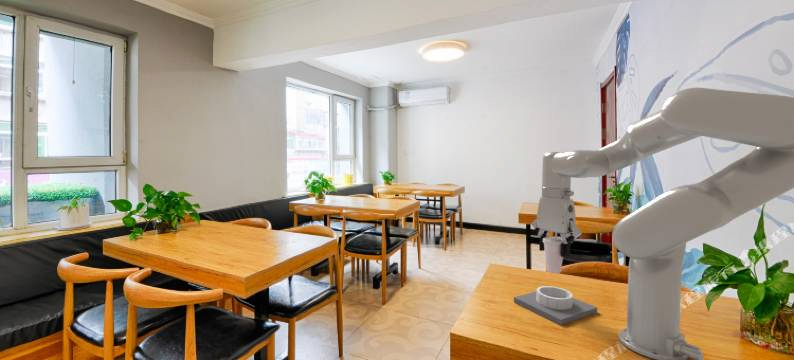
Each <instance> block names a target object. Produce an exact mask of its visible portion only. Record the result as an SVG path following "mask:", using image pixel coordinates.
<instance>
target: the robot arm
mask: <svg viewBox="0 0 794 360" xmlns="http://www.w3.org/2000/svg"><path fill="white" fill-rule="evenodd" d="M699 137H706V138H712V139H717V140H721V141H727V142H733V143H738V144H743V145H747V146H753V147H755V148H754V149H753V150H752V151H750V152H749V153H748V154H746V155H745V156H744V157H741V158H739V159H738V160H735V161H734V162H732V163H730V164H728V165H727V166H726V167H724V168H723V169H721V170H719V171H718V172H716V173H714V174H713V175H710V176H709V177H707V178H705V179H703V180H701V181H700V182H697V183H692V184H685V185H679V186H676V187H674V188H671V189H669V190H667V191H665V192H663V193H662V194H661V193H660V195H658V196H657V197H655V198H654V199H652V200H650V201H649V202H647V203H645V204H643V205H642V206H641V207H638V208H637V209H636V210H634V211H633V212H631V213H629V214H627V215H626V216H624V217H623V218H622V219H620V220H619V221H618V222H617V223H615V226H614V227H613V230H612V241H613V242H612V243H613V244H614V247H615V248H616V250H618V251H619V252H620V253H622V255H624V256H626V257H628V258H629V262H628V277H627V305H626V306H627V308H626V310H627V311H626V328H622V329H621V330H619V332H618V340H619V341H620V343H621V344H622V345H624V346H625V347H627V348H628V349H629V350H631V351H632V352H636V353H638V354H639V355H641V356H644V357H647V358H650V359H653V360H688V358H690V359H692V360H704V357H705V356H704V352H702V348H701V347H699V346H696V345H694V344H692V343H691V344H690V343H688V341H686V334H684V333H682V332H680V327H681V325H680V324H681V304H682V303H681V302H682V301H681V299H682V298H681V297H682V285H683V284H682V282H683V280H682V279H683V266H684V260H685V253H686V248H687V243H688V242H691V241H692V240H694V239H697V238H699V237H701V236H703V235H705V234H707V233H709V232H712V231H714V230H717V229H720V228H722V227H724V226H726V225H727V224H729V223H730V222H732V221H733V220H736V219H737V218H739V217H740V216H742V215H744V214H746V213H748V212H749V213H750V211H752V210H754V209H757V208H759V207H762V206H763V205H765V204H767V203H768V202H770V201H772V200H774V199H776V198H778V197H779V196H781V195H784V194H785V193H788V192H789V191H791V190H793V189H794V97H793V96H787V95H780V94H778V95H777V94H769V93H760V92H759V93H758V92H756V93H755V92H746V91H735V90H725V89H716V88H715V89H714V88H709V87H708V88H707V87H689V88H686V89H682V90H679V91H677V92H676V93H673V94H672V95H671V96H669V97H668V99H667V100H665V102H664V103H663V105H662V108H661V110H658V111H656V112H654V113H652V114H650V115H648V116H645V117H643V118H641V119H640V120H637V121H635V122H633V123H631V124H630V125H628V126H627V128H626V131H625V134H624V135H623V136H622V137H620V138H619V139H617V140H616V141H614V142H612V143H609V144H608V145H605V146H603V147H601V148H599V149H596V150H589V149H587V150H583V149H581V150H580V149H579V150H571V151H570V150H569V151H548V152H544V154H543V156H542V173H541V176H542V177H541V178H542V179H541V180H542V181H541V187H542V188H541V197H540V198H539V201H538V204H537V205H538V207H537V211H536V212H537V214H536V218H535V219H534V220H533V221H532V222H531V226H532V227H533V229H534V231H535V232H536V234H537V238H539V242H538V243H539V244H538V245H539V249H538V251H541V252H543V251H544V252H545V249H544V242H543V238H545V237H548V236H547V235H548V234H549V232H551V233H554V234H555V233H557V234H559V235H560V238H562V241H563V243H561V257H563V258H566V257H570V255H571V245H572V243H573V242H574V241H575V240H577V238H579V236H581V235H582V234H583V232H582V231H581V230H580V228H579V227H578V226H577V222H576V221H577V220H576V207H575V203H574V199H572V198H571V196H572V197H573V196H574V195H575V192H574V190H573V191H572V189H571V182H572V178H575V179H585V178H598V177H602V176H606V175H609V174H611V173H614V172H617V171H620V170H622V169H624V168H627V167H629V166H632V165H634V164H636V163H638V162H640V161H643V160H645V159H646V158H648V157H650V156H653V155H655V154H657V153H660V152H662V151H665V150H668V149H671V148H673V147H675V146H678V145H681V144H683V143H686V142H689V141H692V140H694V139H697V138H699ZM571 233H572V234H571Z"/></svg>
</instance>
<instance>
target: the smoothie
mask: <svg viewBox="0 0 794 360" xmlns="http://www.w3.org/2000/svg"><path fill="white" fill-rule="evenodd" d="M543 242H544V249H545V250H544V256H545V266H546V272H548V273H551V274H560V273H561V271H562V265H563V259H564V257H561V243H563V241H562V238H561V237H558V233H555V232H554V236H546V237H545V238H543Z"/></svg>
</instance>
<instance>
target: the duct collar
mask: <svg viewBox="0 0 794 360" xmlns="http://www.w3.org/2000/svg"><path fill="white" fill-rule="evenodd" d="M513 303H515V304H518V305H519V306H521V307H523V308H526V309H527V310H529V311H531V312H533V313H535V314H537V315H539V316H541V317H543V318H545V319H547V320H550V321H551V322H554V323H555V324H557V325H560V326H563V325H566V324H569V323H572V322H574V321H578V320H579V319H580V320H581V319H582V318H586V317H589V316H591V315H594V314H597V313H598V307H597V306H595V305H592V304H590V303H588V302H585V301H582V300H580V299H577V298H576V297H575V298H574V295H573V293H572V292H571V291H569V290H567V289H565V288H563V287H556V286H552V285H550V286H549V285H548V286H547V285H544V286H543V285H542V286H538V287H537V288H536V290H535V291H532V292H529V293H525V294H521V295H518V296H515V297H513Z"/></svg>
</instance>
